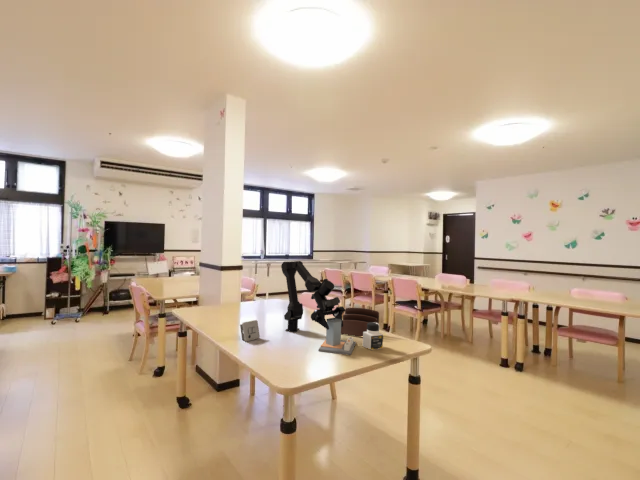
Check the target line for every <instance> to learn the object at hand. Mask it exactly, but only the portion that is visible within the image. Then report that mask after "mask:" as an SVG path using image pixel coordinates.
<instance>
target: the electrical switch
mask: <svg viewBox="0 0 640 480" xmlns="http://www.w3.org/2000/svg"><path fill="white" fill-rule="evenodd" d="M258 321H259V320H257V319H253V320H250V321H244V322H241V323H242V324H239V326H240V327H239V328H240V334H241V341H244V342H251V341H253V340H257V339H260V337H261V336H260V328H259V322H258Z"/></svg>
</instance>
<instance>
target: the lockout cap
mask: <svg viewBox="0 0 640 480" xmlns="http://www.w3.org/2000/svg"><path fill="white" fill-rule="evenodd" d="M342 320H343V319H342ZM342 320H341V319H338V318H335V317H331V318H330V317H329V318H326V322H327V324H328V326H329V330H327V329H326V328H325V329H326V332H325V333H326V335H325V340H326V344H329V345H331V346H336V345H340V342H341V340H342V339H341V338H342V337H341V336H342V334H341V321H342Z"/></svg>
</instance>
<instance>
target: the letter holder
mask: <svg viewBox="0 0 640 480" xmlns="http://www.w3.org/2000/svg"><path fill="white" fill-rule="evenodd" d="M344 309H345V311H344V313H343V314H342V320H343V327H341V335H343V334H348V335H347V336H350V335H355V336H354V337H357V336H363V332H366V331H367V324H368V323H369V322H375V323H378V324H379V325H380V323H379V322H380V312H379V311H378V310H375V309H370V308H365V307H364V308H363V307H345V308H344Z"/></svg>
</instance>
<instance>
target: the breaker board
mask: <svg viewBox="0 0 640 480" xmlns="http://www.w3.org/2000/svg"><path fill="white" fill-rule="evenodd" d="M355 344H357V341H355V340H354V337H352V336H349V337H348V338H347V340H345V339H341V342H340V345H336V346H331V345H329V344H326V339H325V340H323V342H322V344H320V347H319V348H318V352H323V353H332V354H341V355H346V354H347V355H348V356H351V355H352V353H353V351H354V348H355V347H356V345H355ZM354 346H355V347H354ZM347 355H346V356H347Z"/></svg>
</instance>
